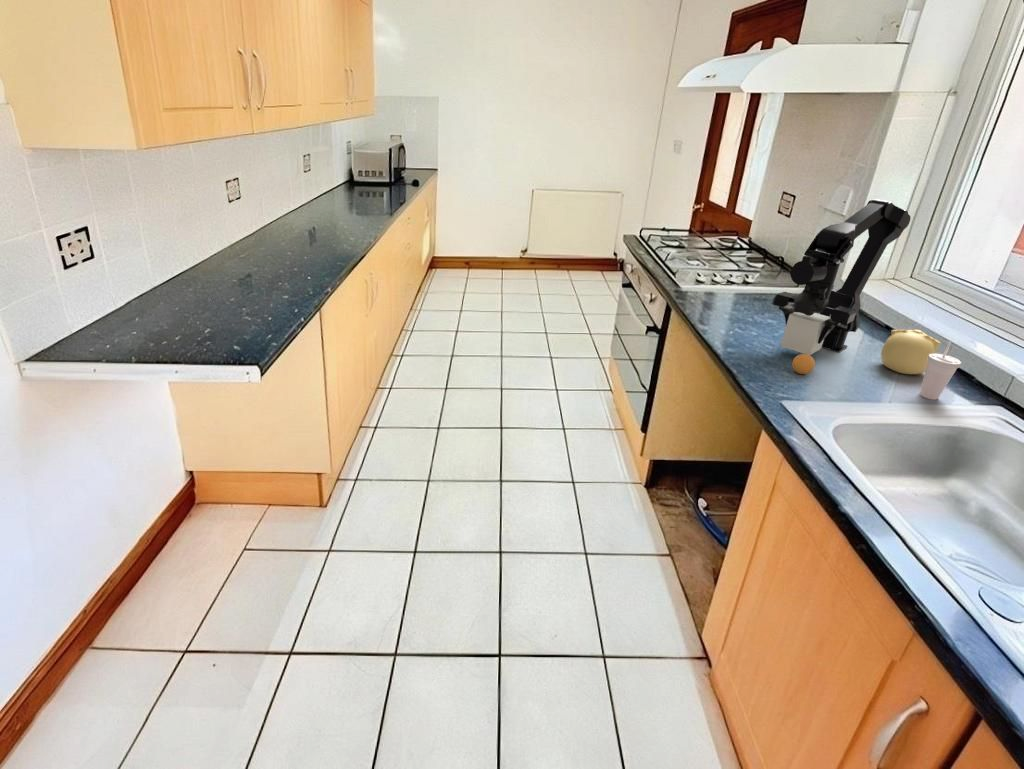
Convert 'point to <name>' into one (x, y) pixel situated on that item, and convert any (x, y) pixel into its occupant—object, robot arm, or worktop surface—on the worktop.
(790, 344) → the chalk-white cube
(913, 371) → the pale yellow rounded lump
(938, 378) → the smoothie
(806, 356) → the ball
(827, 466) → the worktop surface
